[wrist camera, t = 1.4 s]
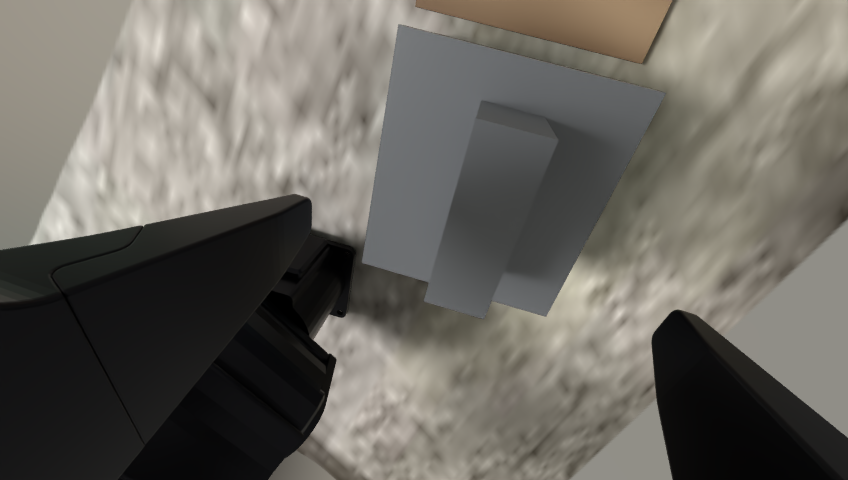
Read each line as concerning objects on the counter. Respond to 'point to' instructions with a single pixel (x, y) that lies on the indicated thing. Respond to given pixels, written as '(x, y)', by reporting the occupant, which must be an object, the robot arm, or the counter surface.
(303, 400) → the robot arm
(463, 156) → the lid
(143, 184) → the counter surface
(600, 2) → the walnut board
